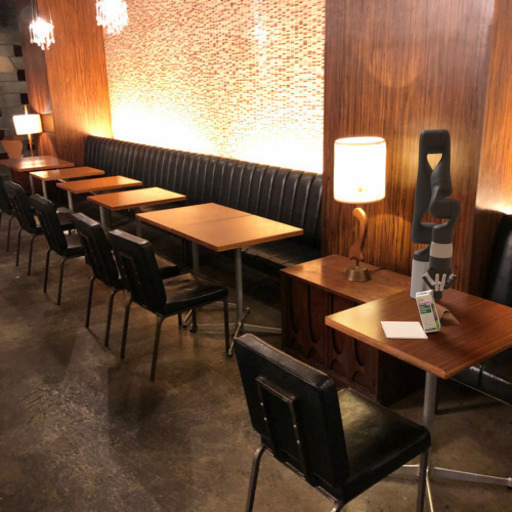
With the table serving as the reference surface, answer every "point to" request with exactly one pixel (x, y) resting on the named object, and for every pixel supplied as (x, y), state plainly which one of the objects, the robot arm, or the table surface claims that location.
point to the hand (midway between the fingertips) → (437, 299)
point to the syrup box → (428, 311)
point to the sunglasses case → (445, 315)
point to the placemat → (403, 330)
